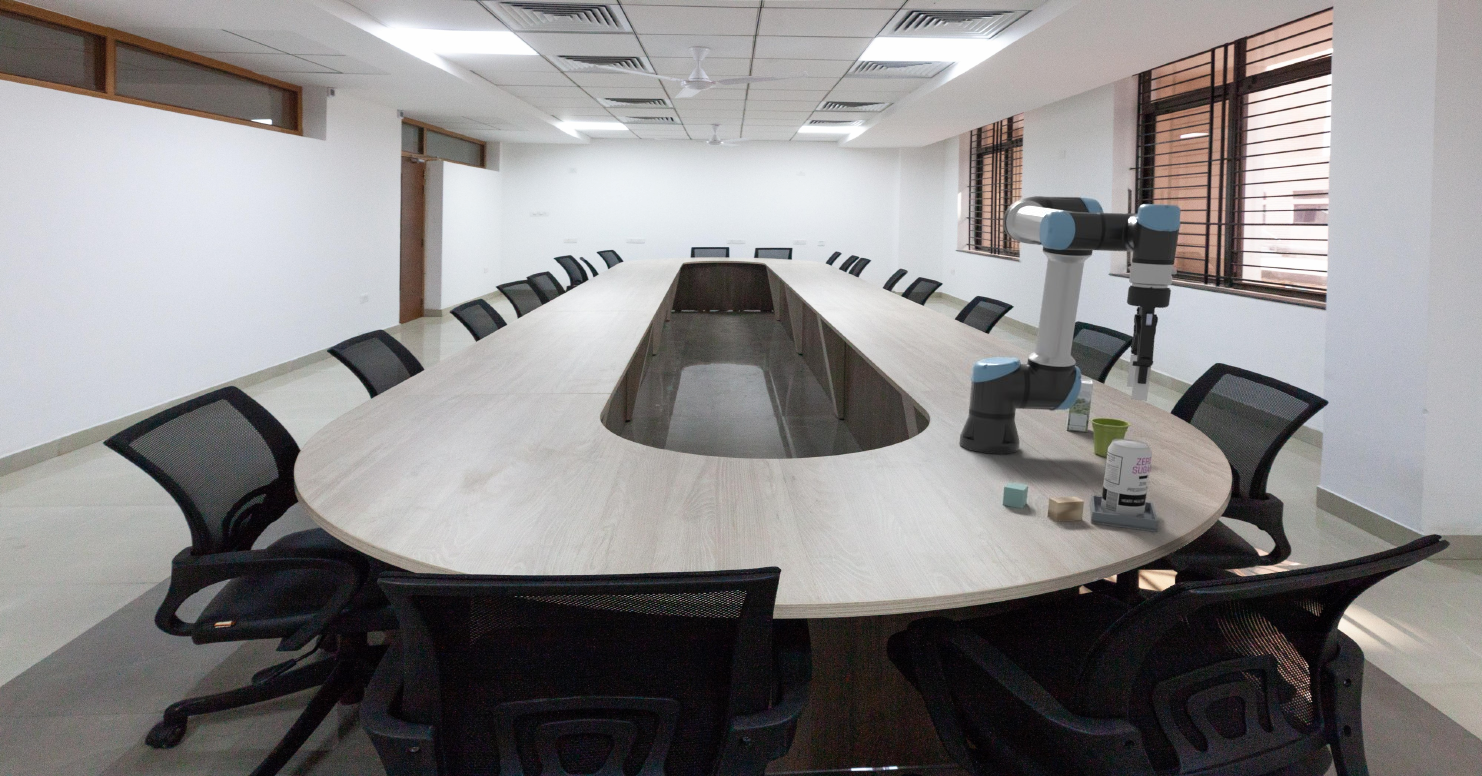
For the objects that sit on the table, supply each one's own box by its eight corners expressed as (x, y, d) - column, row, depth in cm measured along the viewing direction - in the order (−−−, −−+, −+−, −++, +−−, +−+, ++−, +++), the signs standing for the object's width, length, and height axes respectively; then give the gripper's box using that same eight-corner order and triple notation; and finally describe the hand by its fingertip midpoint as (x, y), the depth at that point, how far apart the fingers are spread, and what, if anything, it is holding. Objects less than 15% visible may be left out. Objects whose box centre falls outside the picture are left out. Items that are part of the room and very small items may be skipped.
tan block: (1056, 521, 180) (1058, 502, 179) (1047, 516, 183) (1049, 498, 182) (1082, 520, 182) (1084, 501, 181) (1072, 515, 185) (1075, 496, 184)
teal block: (1002, 505, 189) (1004, 486, 189) (1007, 500, 193) (1009, 482, 192) (1021, 508, 188) (1023, 490, 187) (1026, 503, 191) (1028, 485, 190)
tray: (1091, 522, 180) (1092, 511, 179) (1089, 505, 191) (1090, 494, 190) (1156, 531, 176) (1158, 520, 175) (1151, 513, 187) (1152, 502, 187)
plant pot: (1086, 456, 230) (1090, 423, 229) (1087, 448, 239) (1091, 416, 237) (1126, 461, 227) (1130, 427, 225) (1125, 452, 235) (1129, 420, 234)
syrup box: (1087, 428, 261) (1092, 379, 258) (1087, 433, 255) (1093, 382, 253) (1066, 426, 263) (1071, 377, 260) (1066, 430, 257) (1071, 380, 254)
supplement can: (1105, 505, 189) (1114, 436, 186) (1147, 514, 184) (1157, 443, 182) (1095, 515, 183) (1104, 443, 180) (1138, 524, 178) (1148, 451, 175)
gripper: (1178, 292, 161) (1163, 407, 166) (1164, 282, 185) (1151, 383, 189) (1133, 289, 164) (1119, 403, 168) (1125, 279, 187) (1113, 380, 191)
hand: (1136, 393), depth 179 cm, fingers open, 13 cm apart
